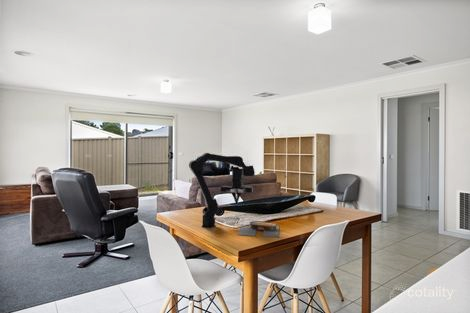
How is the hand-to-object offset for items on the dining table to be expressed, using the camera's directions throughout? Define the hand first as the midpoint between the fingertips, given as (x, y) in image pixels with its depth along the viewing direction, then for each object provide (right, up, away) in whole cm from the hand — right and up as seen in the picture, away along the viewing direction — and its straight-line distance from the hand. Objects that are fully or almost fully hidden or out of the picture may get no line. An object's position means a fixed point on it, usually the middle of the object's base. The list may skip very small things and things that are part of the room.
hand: (236, 203), depth 166 cm
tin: (+13, -11, -14) cm, 22 cm away
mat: (+12, -12, -13) cm, 22 cm away
